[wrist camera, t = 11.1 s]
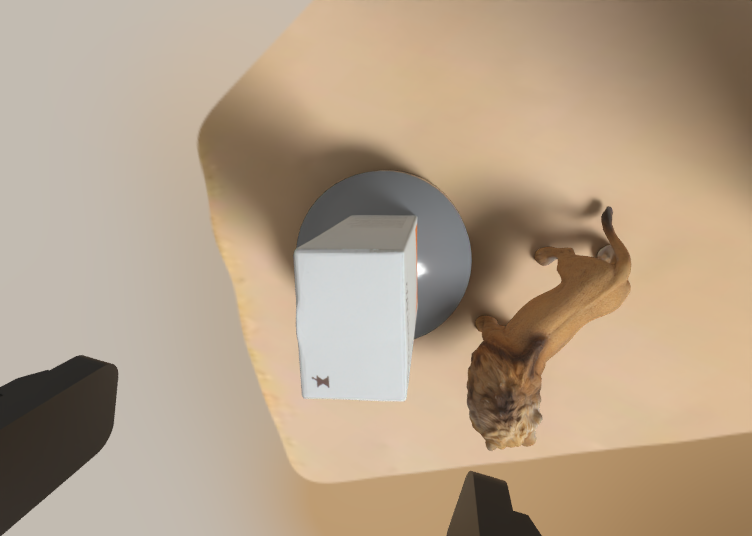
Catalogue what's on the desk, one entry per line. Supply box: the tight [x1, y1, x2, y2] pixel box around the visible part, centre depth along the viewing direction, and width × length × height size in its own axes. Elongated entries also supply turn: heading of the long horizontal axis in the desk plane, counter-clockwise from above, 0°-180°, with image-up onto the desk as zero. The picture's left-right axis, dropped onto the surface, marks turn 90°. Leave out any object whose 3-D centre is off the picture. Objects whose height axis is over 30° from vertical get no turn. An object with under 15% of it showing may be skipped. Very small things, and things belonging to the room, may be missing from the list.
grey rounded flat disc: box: [297, 170, 472, 339], centre depth 30 cm, size 11×11×3 cm
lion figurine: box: [467, 206, 631, 451], centre depth 26 cm, size 15×5×9 cm, turn 150°
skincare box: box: [293, 215, 418, 401], centre depth 22 cm, size 6×4×12 cm
